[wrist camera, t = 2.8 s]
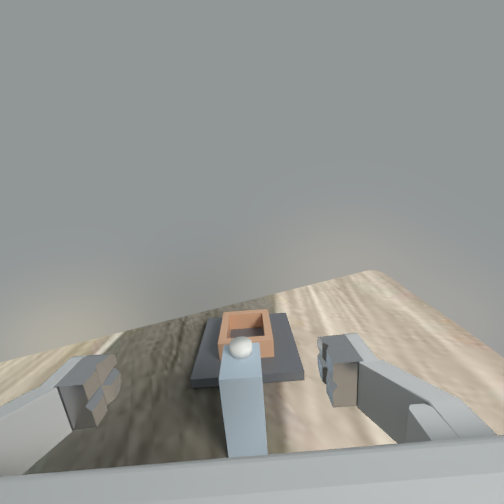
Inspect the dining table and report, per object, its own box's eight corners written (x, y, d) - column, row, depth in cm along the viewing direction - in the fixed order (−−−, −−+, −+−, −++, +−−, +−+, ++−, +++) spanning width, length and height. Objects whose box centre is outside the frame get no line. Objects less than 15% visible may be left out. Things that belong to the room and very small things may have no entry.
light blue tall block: (228, 460, 24) (217, 370, 21) (231, 414, 29) (222, 337, 26) (267, 457, 24) (261, 367, 21) (264, 412, 29) (258, 334, 26)
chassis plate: (191, 388, 33) (187, 361, 32) (209, 325, 49) (206, 305, 47) (304, 379, 33) (303, 352, 32) (285, 319, 49) (285, 299, 48)
